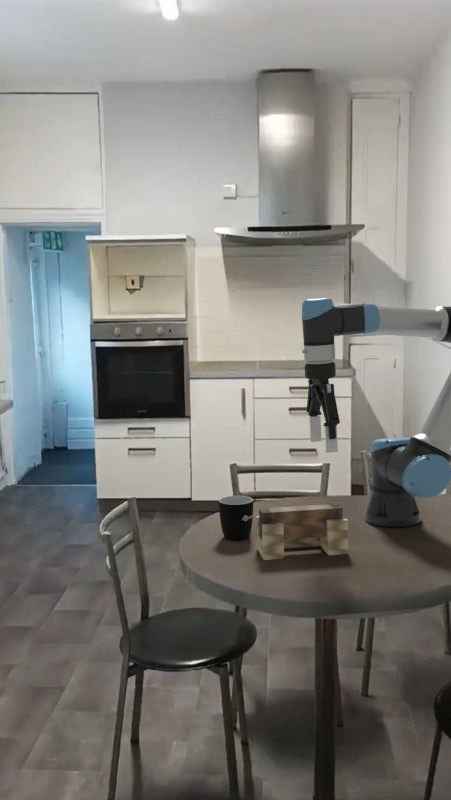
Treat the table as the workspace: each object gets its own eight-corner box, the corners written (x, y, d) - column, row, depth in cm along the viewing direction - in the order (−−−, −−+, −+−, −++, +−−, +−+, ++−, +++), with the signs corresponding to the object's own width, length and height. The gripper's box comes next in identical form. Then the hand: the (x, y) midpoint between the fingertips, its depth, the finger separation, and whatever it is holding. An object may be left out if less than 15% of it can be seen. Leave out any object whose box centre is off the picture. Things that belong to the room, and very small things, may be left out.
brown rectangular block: (337, 530, 203) (337, 503, 202) (342, 535, 199) (342, 507, 198) (259, 536, 200) (259, 508, 199) (262, 540, 196) (262, 512, 195)
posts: (338, 542, 206) (337, 510, 204) (348, 553, 197) (348, 520, 196) (257, 548, 203) (256, 515, 202) (263, 560, 194) (263, 525, 193)
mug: (243, 544, 206) (242, 506, 205) (213, 539, 211) (212, 502, 210) (265, 531, 217) (264, 495, 215) (236, 527, 221) (235, 491, 220)
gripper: (292, 358, 209) (296, 438, 213) (319, 368, 185) (323, 458, 188) (320, 356, 211) (323, 436, 214) (350, 365, 186) (354, 455, 189)
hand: (323, 446), depth 201 cm, fingers open, 13 cm apart
